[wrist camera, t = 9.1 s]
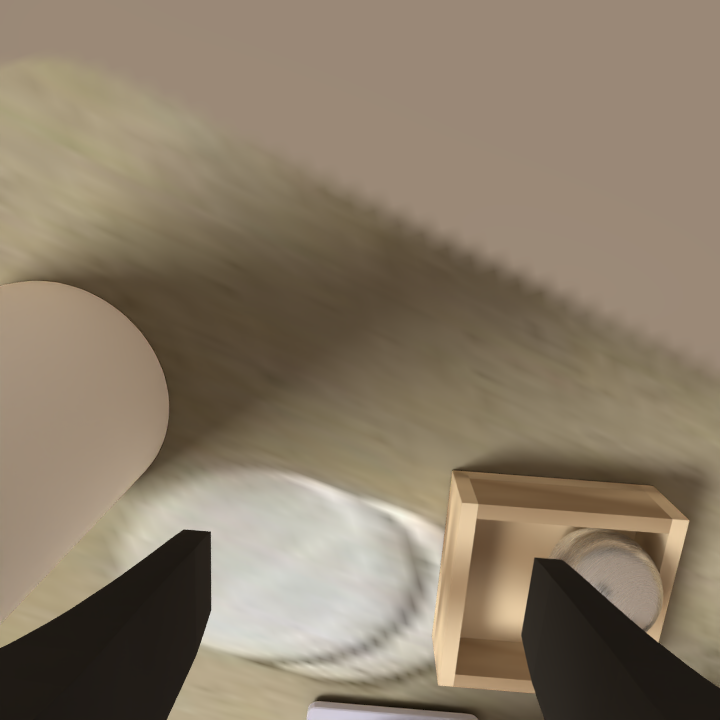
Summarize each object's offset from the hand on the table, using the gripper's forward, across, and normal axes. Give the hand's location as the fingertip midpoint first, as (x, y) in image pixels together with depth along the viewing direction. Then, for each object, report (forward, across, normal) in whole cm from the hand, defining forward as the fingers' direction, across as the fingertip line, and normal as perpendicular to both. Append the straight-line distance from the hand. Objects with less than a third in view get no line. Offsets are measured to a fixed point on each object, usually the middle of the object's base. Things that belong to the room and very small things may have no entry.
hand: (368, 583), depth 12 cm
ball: (+7, -9, +5) cm, 13 cm away
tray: (+10, -8, +6) cm, 14 cm away
